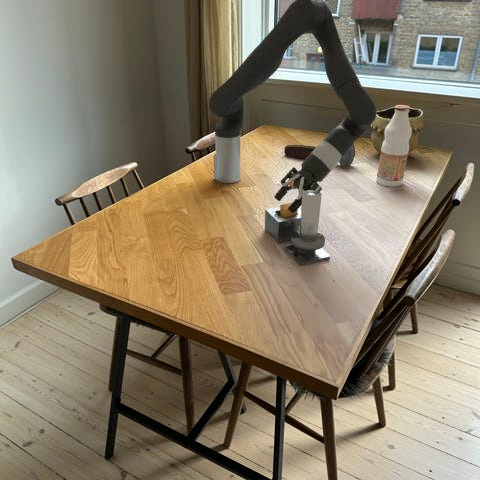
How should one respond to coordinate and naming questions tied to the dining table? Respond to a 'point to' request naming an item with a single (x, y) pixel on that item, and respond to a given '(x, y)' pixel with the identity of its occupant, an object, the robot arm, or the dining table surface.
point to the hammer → (305, 151)
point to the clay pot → (385, 118)
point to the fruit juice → (395, 148)
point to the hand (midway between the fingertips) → (283, 205)
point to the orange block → (286, 210)
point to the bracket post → (299, 230)
